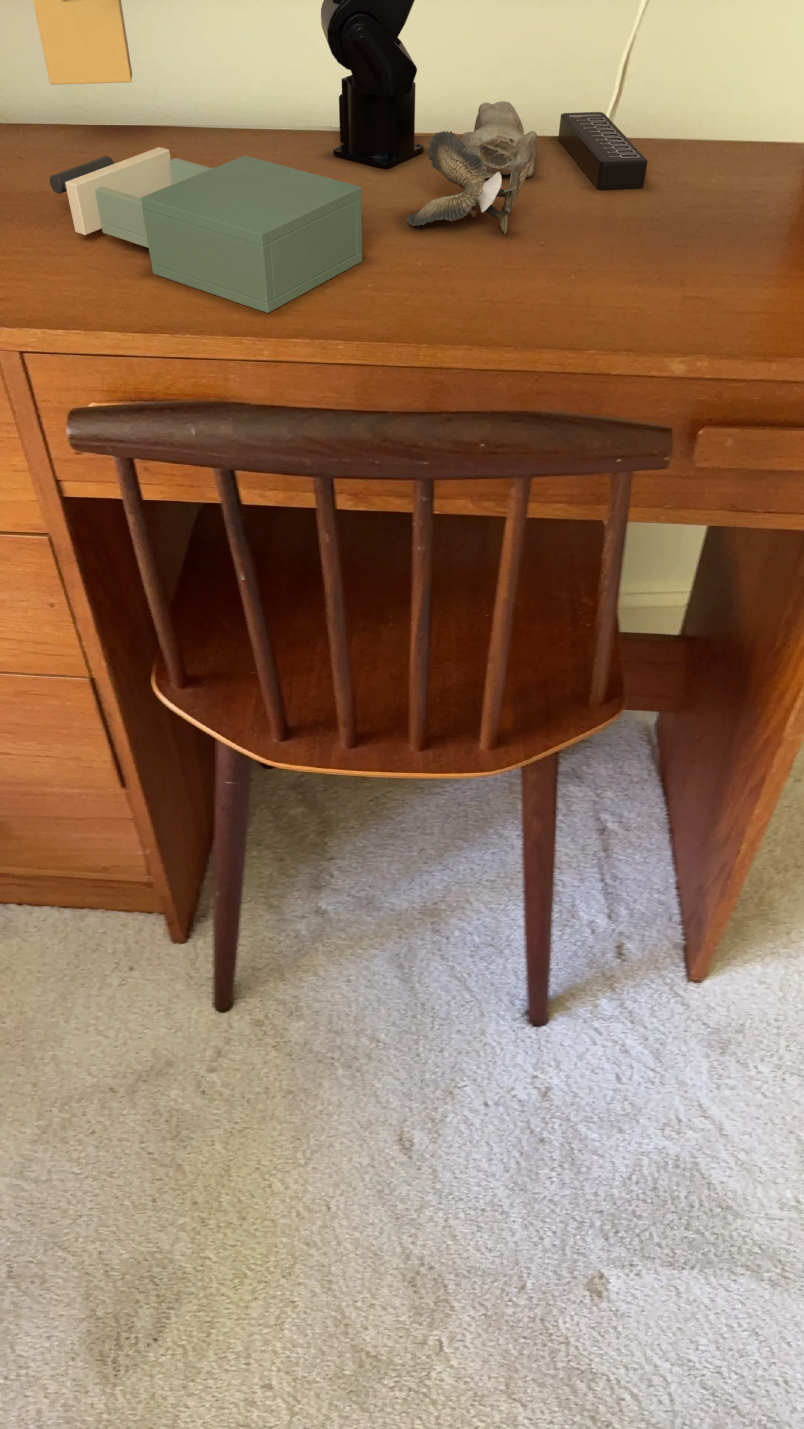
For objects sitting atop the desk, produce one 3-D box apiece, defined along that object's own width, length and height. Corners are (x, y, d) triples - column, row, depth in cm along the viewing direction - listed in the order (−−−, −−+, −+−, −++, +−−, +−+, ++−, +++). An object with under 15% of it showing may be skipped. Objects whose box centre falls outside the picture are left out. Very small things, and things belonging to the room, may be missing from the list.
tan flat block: (133, 74, 93) (112, -64, 86) (132, 82, 92) (111, -58, 84) (51, 76, 92) (23, -62, 85) (48, 84, 91) (20, -57, 84)
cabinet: (152, 273, 80) (140, 197, 76) (251, 227, 87) (244, 154, 83) (268, 313, 75) (261, 234, 71) (362, 261, 82) (361, 186, 78)
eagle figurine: (526, 196, 89) (428, 162, 90) (536, 136, 82) (430, 100, 83) (495, 271, 88) (396, 237, 89) (502, 217, 81) (395, 180, 82)
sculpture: (453, 144, 104) (458, 185, 93) (458, 90, 101) (464, 125, 90) (523, 150, 105) (537, 191, 93) (530, 96, 102) (546, 131, 90)
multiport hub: (598, 189, 94) (601, 162, 92) (557, 138, 104) (559, 112, 102) (644, 187, 94) (649, 160, 93) (599, 136, 104) (603, 110, 103)
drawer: (34, 218, 85) (23, 168, 82) (127, 182, 91) (119, 135, 88) (170, 264, 79) (162, 212, 76) (259, 222, 85) (255, 172, 82)
